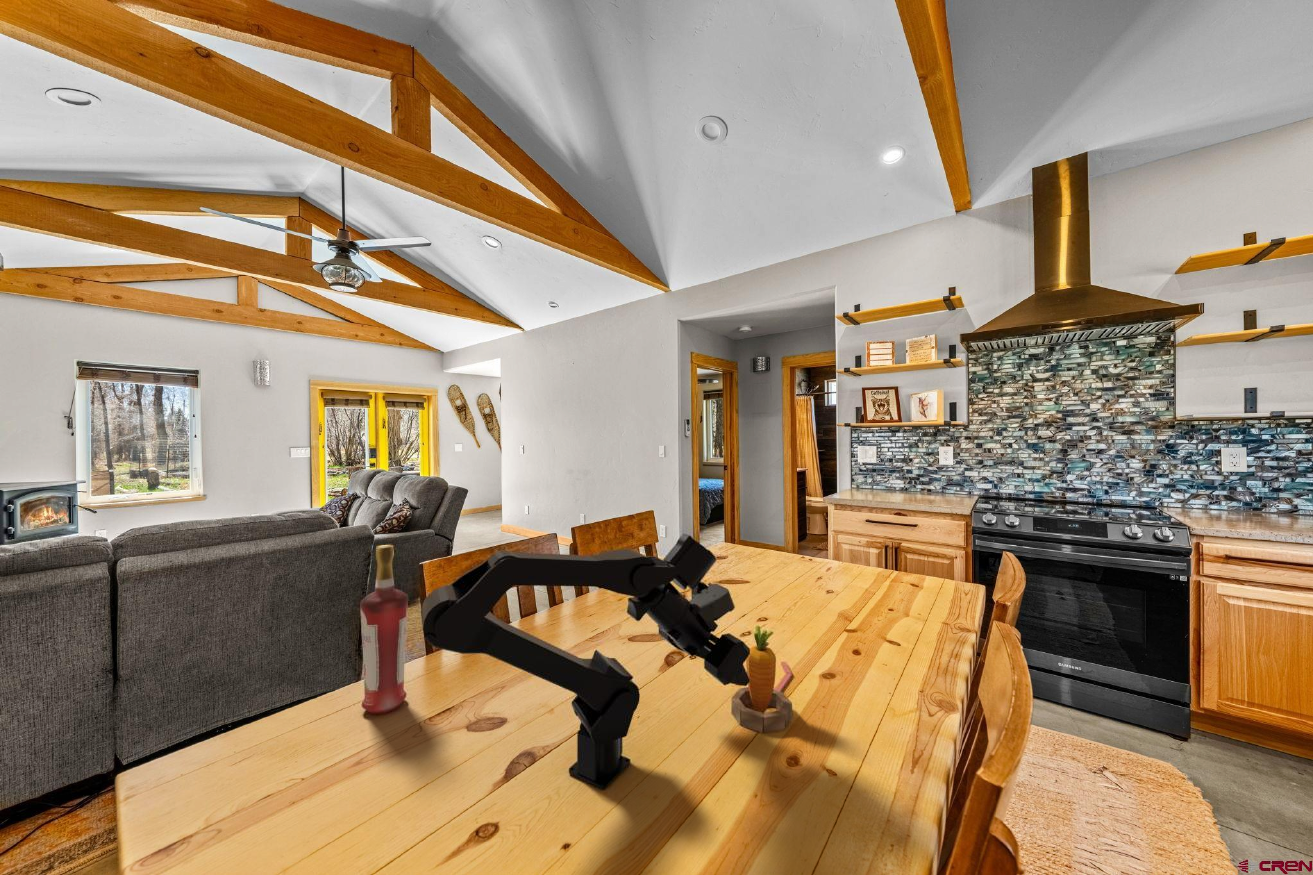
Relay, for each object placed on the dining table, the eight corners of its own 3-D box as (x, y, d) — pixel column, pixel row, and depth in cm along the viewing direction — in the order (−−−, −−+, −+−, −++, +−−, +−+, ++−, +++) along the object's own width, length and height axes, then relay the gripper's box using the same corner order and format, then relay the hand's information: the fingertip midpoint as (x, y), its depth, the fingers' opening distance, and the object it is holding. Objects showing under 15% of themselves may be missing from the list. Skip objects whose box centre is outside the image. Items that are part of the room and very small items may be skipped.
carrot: (747, 705, 86) (748, 620, 86) (776, 710, 84) (777, 623, 84) (743, 720, 81) (744, 630, 81) (773, 726, 80) (774, 634, 80)
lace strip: (772, 703, 87) (772, 701, 87) (754, 698, 88) (754, 695, 88) (798, 667, 100) (798, 664, 100) (781, 663, 102) (781, 660, 102)
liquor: (356, 705, 86) (356, 545, 86) (402, 691, 91) (402, 540, 91) (364, 724, 80) (364, 553, 80) (412, 708, 85) (413, 547, 85)
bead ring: (780, 738, 77) (780, 722, 77) (724, 720, 81) (724, 705, 81) (796, 710, 85) (796, 695, 85) (745, 695, 89) (745, 681, 89)
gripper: (740, 586, 69) (797, 651, 74) (675, 558, 86) (725, 612, 91) (692, 652, 66) (755, 715, 71) (633, 609, 82) (688, 663, 87)
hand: (729, 670), depth 80 cm, fingers open, 9 cm apart
